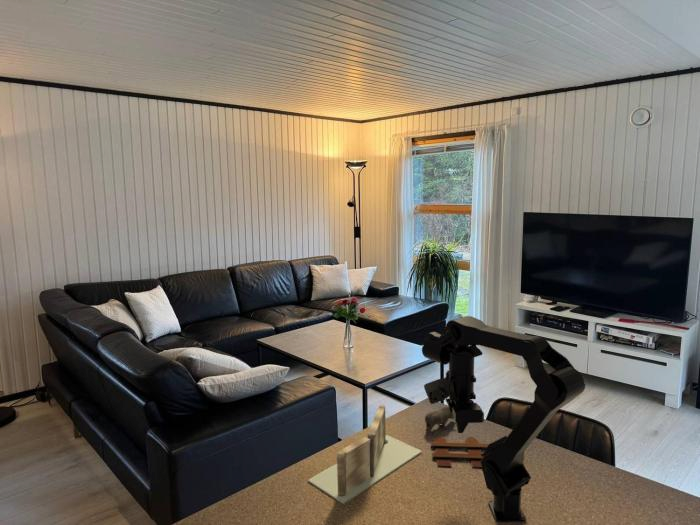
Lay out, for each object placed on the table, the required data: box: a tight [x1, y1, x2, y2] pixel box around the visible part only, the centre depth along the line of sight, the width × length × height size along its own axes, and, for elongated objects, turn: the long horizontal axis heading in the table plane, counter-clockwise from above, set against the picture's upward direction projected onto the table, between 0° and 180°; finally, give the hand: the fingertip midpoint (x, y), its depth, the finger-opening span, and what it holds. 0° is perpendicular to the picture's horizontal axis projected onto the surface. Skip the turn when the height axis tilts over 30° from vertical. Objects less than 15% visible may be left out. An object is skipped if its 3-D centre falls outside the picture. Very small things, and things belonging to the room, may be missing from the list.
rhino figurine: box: [424, 404, 455, 436], centre depth 145 cm, size 4×14×6 cm, turn 127°
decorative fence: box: [430, 435, 501, 469], centre depth 131 cm, size 23×2×15 cm
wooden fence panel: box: [336, 433, 374, 497], centre depth 116 cm, size 12×2×11 cm, turn 135°
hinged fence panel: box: [367, 404, 387, 471], centre depth 129 cm, size 16×2×10 cm, turn 166°
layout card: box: [307, 434, 423, 505], centre depth 125 cm, size 30×12×1 cm, turn 135°
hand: (460, 432), depth 116 cm, fingers closed
